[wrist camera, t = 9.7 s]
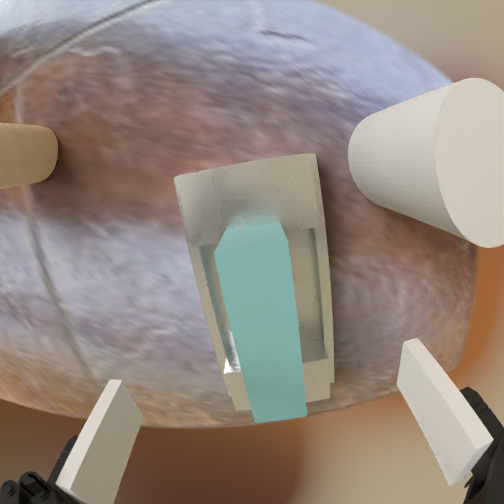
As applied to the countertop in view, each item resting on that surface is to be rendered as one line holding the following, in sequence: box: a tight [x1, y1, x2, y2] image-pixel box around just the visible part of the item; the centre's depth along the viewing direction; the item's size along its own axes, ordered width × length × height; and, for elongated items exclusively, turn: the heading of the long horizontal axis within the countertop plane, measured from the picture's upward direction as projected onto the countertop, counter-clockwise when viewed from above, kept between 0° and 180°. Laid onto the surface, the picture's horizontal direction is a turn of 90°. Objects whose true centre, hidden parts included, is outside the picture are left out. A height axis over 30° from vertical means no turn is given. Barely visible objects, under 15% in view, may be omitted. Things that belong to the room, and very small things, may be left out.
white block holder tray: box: [174, 153, 334, 411], centre depth 22 cm, size 20×10×4 cm, turn 10°
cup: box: [348, 78, 504, 248], centre depth 15 cm, size 8×8×12 cm
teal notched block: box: [214, 222, 307, 423], centre depth 19 cm, size 12×4×8 cm, turn 10°
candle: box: [0, 123, 58, 189], centre depth 16 cm, size 6×6×10 cm
